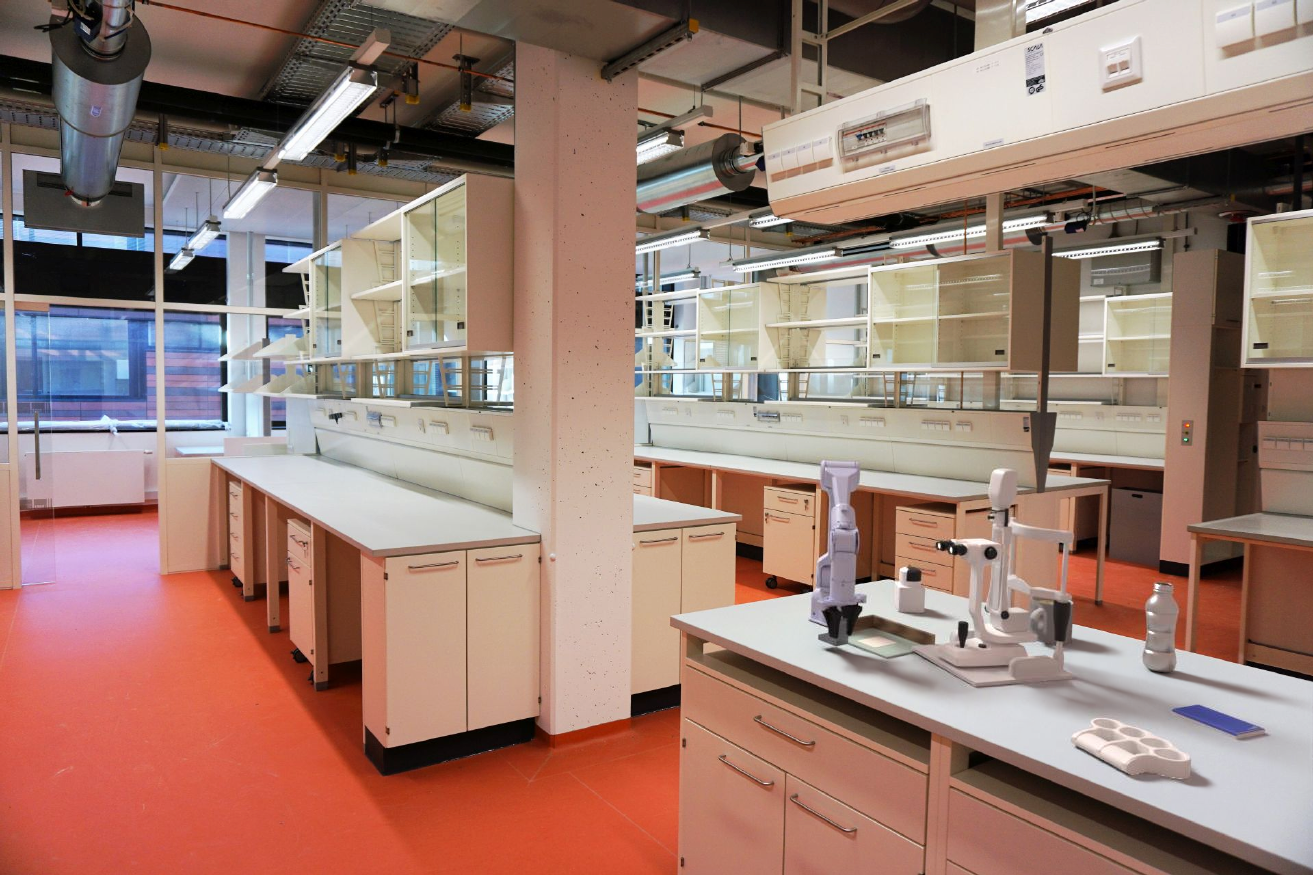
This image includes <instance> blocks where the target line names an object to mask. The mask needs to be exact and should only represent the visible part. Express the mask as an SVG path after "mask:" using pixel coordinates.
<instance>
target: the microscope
mask: <svg viewBox="0 0 1313 875" xmlns="http://www.w3.org/2000/svg"><path fill="white" fill-rule="evenodd" d="M1018 478H1019V477H1018V472H1017V471H1016V470H1015V469H1010V468H997V469H994V470H993V471H992V472H991V476H990V481H989V485H988V490H987V496H988V498H989V501H990V504H991V508H990V507H986V508H985V510H986V511H991V512H990V515H987V518H986V519H987V520H989V521H990V522H992V528H991V530H992V531H991V532H992V533H991V540H988V539H985V538H963V539H956V538H951V539H947V540H939V541H936V542H935V549H936V550H937V551H940V552H947V554H948V555H951V556H954V557H957V556H959V557H960V558H961V559H962V560H964V561H966V563H967V564H969V565H970V577H969V578H970V581H969V596H968V613H969V615H970V617H971V619H972V624H973V627H970V626H969V622H968V621H965V620H959V621H958V622H957V628H954V629H953V630H951V632H950V636H949V642H946V643H938V644H936V643H935V644H933V645H918V646H911V650H913V651H914V653H917V654H918V655H920V656H921V657H922V658H925V659H926V660H928V661H930V662H932V663H933V664H935V665H937V666H939V667H940V668H942V669H944V670H946V671H947V672H949V673H951V674H952V675H954V676H956V677H958V678H959V679H961V680H963V681H964V682H967V683H968V684H969V685H971V686H973V687H975V688H977V687H989V686H1002V685H1010V684H1023V683H1035V682H1036V683H1037V682H1047V681H1058V680H1060V681H1061V680H1069V679H1070V680H1071V679H1074V678H1075V674H1074V673H1071V672H1069V671H1067V670H1065V669H1064V664H1065V663H1064V662H1065V654H1064V649H1063V645H1064V644H1063V642H1064V641H1065V640H1066V632H1067V627H1068V623H1069V619H1070V612H1071V603H1070V602H1068V600H1071V601H1072V600H1073V595H1072V594H1070V593H1069V592H1067V578H1068V566H1069V553H1070V552H1069V551H1070V550H1069V549H1070V544H1072V543H1073V542H1074V539H1075V534H1074V532H1073V531H1070V530H1060V529H1059V530H1058V529H1052V528H1044V527H1036V526H1029V525H1025V524H1022V523H1018V519H1017V518H1016V517H1015V516H1011V510H1010V508H1011V507H1012V504H1013V502H1014V501H1015V500H1016V498H1017V494H1018ZM1016 536H1017V537H1021V538H1024V539H1030V540H1037V541H1043V542H1052V543H1062V544H1063V552H1062V553H1063V554H1062V564H1061V580H1060V590H1056V589H1051V588H1045V587H1042V586H1035V587H1031V585H1029V584H1028V583H1027V582H1026V581H1025V580H1024V579H1022V578H1019V577H1018V575H1017V574H1014V564H1015V550H1016V548H1015V547H1016ZM1000 542H1002V543H1000ZM1002 545H1003V549H1002ZM1008 550H1009V555H1008ZM990 566H991V570H990V571H991V572H990V585H989V586H990V587H989V590H988V595H987V598H986V603H985V605H984V611H985V612H986V613H988V614H990V615H989V623H988V622H987V623H985V622H984V616H983V614H982V608H983V607H982V605H983V592H984V590H983V589H984V577H985V576H984V574H985V573H984V572H985V568H986V567H990ZM1013 590H1014V591H1017V592H1019V593H1023V594H1025V595H1028V596H1031V597H1032V596H1036V597H1042V598H1048V599H1054V602H1053V621H1054V640H1056V641H1057V643H1056V644H1055V645H1056V646H1055V650H1054V652H1053V654H1052V657H1050V656H1048V655H1046V654H1045V655H1034V654H1031V653H1029V652H1028V651H1027V650H1026V647H1025V646H1024V645H1022V644H1026V643H1027V644H1028V643H1036V642H1038V641H1037V635H1035V634H1033V633H1031V632H1029V626H1030V610H1026V609H1023V608H1021V607H1018V606H1017V607H1015V606H1014V607H1012V596H1013Z"/></svg>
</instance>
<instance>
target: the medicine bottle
mask: <svg viewBox="0 0 1313 875" xmlns="http://www.w3.org/2000/svg"><path fill="white" fill-rule="evenodd" d="M898 574H899V576H898V578H899V579H898V581H895V582H894V599H893V606H894V608H895V609H896V610H897V611H898V612H899V613H910V614H911V613H912V614H913V613H914V614H924V613H925V604H926V602H925V601H926V600H925V598H926V588H925V587H924V586H923V585H922V570H921V569H919V568H917V567H913V566H904V567H901V568H899V572H898Z"/></svg>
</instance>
